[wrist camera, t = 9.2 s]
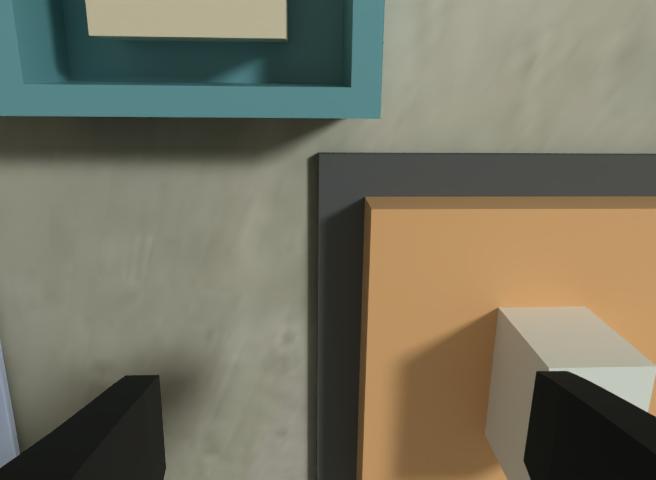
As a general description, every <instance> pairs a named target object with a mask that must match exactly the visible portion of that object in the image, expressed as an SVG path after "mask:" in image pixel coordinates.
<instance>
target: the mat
mask: <svg viewBox="0 0 656 480" xmlns="http://www.w3.org/2000/svg"><path fill="white" fill-rule="evenodd" d="M546 196H656V154H559V153H319V165H318V317H317V470H316V480H356V472H357V439H358V407H359V374H360V342H361V309H362V277H363V244H364V212H365V197H546Z"/></svg>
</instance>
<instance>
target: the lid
mask: <svg viewBox="0 0 656 480" xmlns="http://www.w3.org/2000/svg"><path fill="white" fill-rule="evenodd" d="M536 371H569V372H571V373H573V374H576V375H578V376H580V377H582V378H584V379H586V380H588V381H590V382H592V383H594V384H596V385H598V386H600V387H602V388H604V389H606V390H608V391H609V392H611V393H613V394H615V395H617V396H619V397H620V398H622V399H624V400H626V401H628V402H630V403H631V404H633V405H635V406H637V407H639V408H641V409H642V410H644V411H646V412H648V413H650V414H652V415H654V416H655V417H656V196H546V197H365V212H364V244H363V277H362V309H361V342H360V374H359V407H358V439H357V472H356V480H531V479H530V477H529V474H528V472H527V469H526V466H525V464H524V461H523V459H524V453H525V446H526V439H527V432H528V425H529V418H530V411H531V404H532V397H533V391H534V384H535V377H536Z"/></svg>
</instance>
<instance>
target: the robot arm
mask: <svg viewBox="0 0 656 480" xmlns="http://www.w3.org/2000/svg"><path fill="white" fill-rule="evenodd" d="M523 461H524V464H525V466H526V469H527V472H528V474H529V477H530V479H531V480H656V417H655V416H654V415H652V414H650V413H648V412H646V411H644V410H642V409H641V408H639V407H637V406H635V405H633V404H631V403H630V402H628V401H626V400H624V399H622V398H620V397H619V396H617V395H615V394H613V393H611V392H609V391H608V390H606V389H604V388H602V387H600V386H598V385H596V384H594V383H592V382H590V381H588V380H586V379H584V378H582V377H580V376H578V375H576V374H573V373H571V372H569V371H536V377H535V384H534V391H533V397H532V404H531V411H530V418H529V425H528V432H527V439H526V446H525V453H524V459H523ZM165 470H166V462H165V449H164V435H163V421H162V407H161V394H160V380H159V375H133V376H125V377H123V378H122V379H120V380H119V381H117V382H116V383H115V384H113V385H112V386H111V387H109V388H108V389H107V390H106V391H104V392H103V393H102V394H100V395H99V396H98V397H97V398H95V399H94V400H93V401H92V402H90V403H89V404H88V405H86V406H85V407H84V408H83V409H81V410H80V411H79V412H77V413H76V414H75V415H73V416H72V417H71V418H69V419H68V420H67V421H66V422H64V423H63V424H62V425H60V426H59V427H58V428H56V429H55V430H54V431H52V432H51V433H50V434H48V435H47V436H45V437H44V438H43V439H41V440H40V441H38V442H37V443H35V444H34V445H33V446H31V447H30V448H28V449H27V450H25V451H24V452H22V453H21V454H20V450H19V445H18V439H17V433H16V427H15V422H14V416H13V410H12V405H11V399H10V393H9V387H8V382H7V376H6V370H5V365H4V359H3V353H2V348H1V342H0V480H163V479H164V475H165Z"/></svg>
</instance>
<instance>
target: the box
mask: <svg viewBox="0 0 656 480" xmlns="http://www.w3.org/2000/svg"><path fill="white" fill-rule="evenodd" d="M384 7H385V0H0V116H82V117H224V118H365V119H380V112H381V86H382V60H383V33H384Z"/></svg>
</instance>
